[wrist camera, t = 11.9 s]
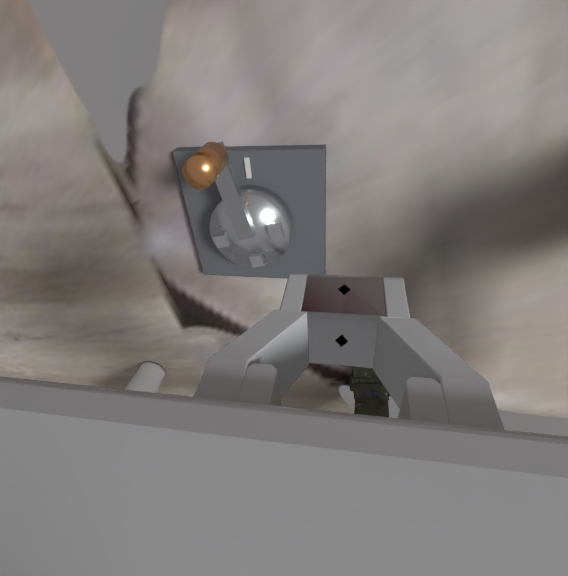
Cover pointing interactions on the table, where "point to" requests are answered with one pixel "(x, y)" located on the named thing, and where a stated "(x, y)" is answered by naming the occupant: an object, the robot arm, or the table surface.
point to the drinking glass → (147, 378)
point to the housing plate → (282, 181)
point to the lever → (240, 210)
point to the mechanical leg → (369, 393)
